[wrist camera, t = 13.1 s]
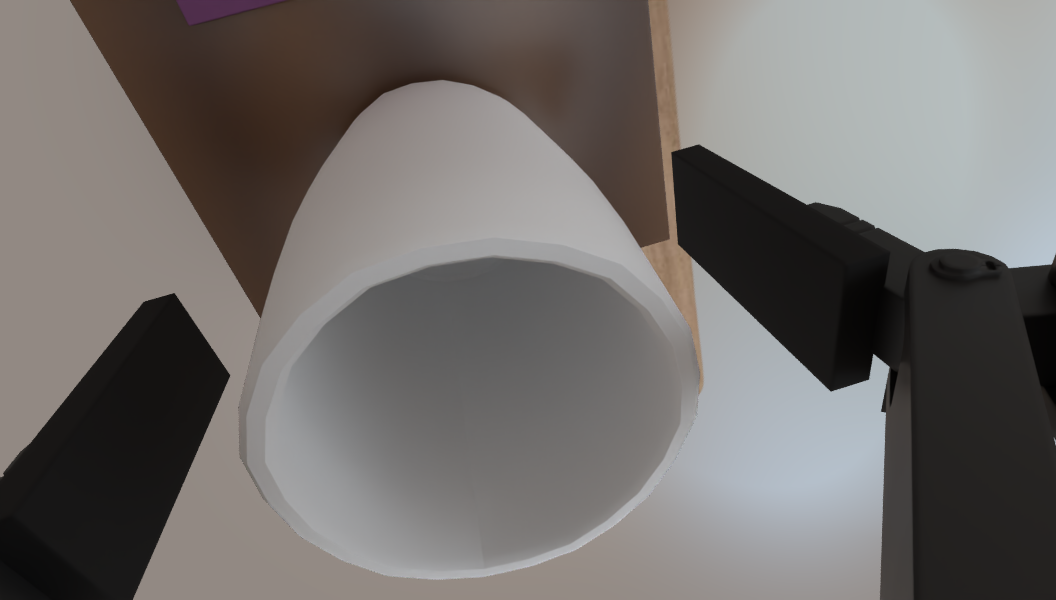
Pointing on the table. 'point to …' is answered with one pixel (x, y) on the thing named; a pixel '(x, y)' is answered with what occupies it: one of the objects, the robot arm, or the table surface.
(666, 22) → the table surface
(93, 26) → the box
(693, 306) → the table surface
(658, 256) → the table surface
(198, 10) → the purple rectangular slab
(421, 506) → the cup
